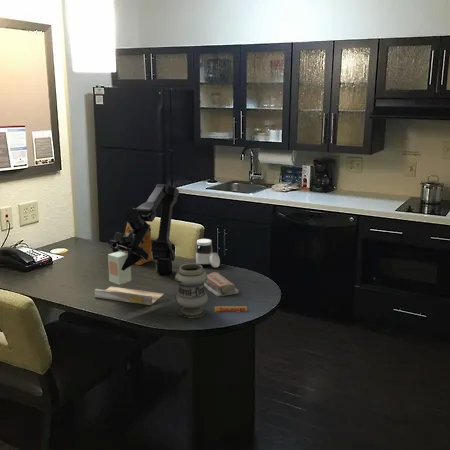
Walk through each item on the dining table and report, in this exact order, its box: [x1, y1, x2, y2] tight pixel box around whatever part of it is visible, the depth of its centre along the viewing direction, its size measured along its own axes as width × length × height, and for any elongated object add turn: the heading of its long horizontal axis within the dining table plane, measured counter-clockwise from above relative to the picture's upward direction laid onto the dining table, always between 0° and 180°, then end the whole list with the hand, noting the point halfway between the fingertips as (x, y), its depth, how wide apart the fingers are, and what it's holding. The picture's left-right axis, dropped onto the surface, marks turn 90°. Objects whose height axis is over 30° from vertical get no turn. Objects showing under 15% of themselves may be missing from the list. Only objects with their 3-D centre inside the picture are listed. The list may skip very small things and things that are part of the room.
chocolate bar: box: [214, 305, 248, 313], centre depth 198 cm, size 3×12×2 cm, turn 92°
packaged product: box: [204, 271, 240, 298], centre depth 220 cm, size 18×5×10 cm
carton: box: [107, 251, 132, 285], centre depth 205 cm, size 6×6×11 cm
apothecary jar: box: [174, 262, 209, 319], centre depth 194 cm, size 12×12×18 cm
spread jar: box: [195, 238, 221, 269], centre depth 247 cm, size 12×11×12 cm
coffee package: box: [124, 221, 152, 266], centre depth 250 cm, size 10×12×22 cm
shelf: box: [94, 286, 164, 309], centre depth 207 cm, size 12×24×4 cm, turn 72°
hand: (116, 268), depth 204 cm, fingers closed on carton, 6 cm apart
